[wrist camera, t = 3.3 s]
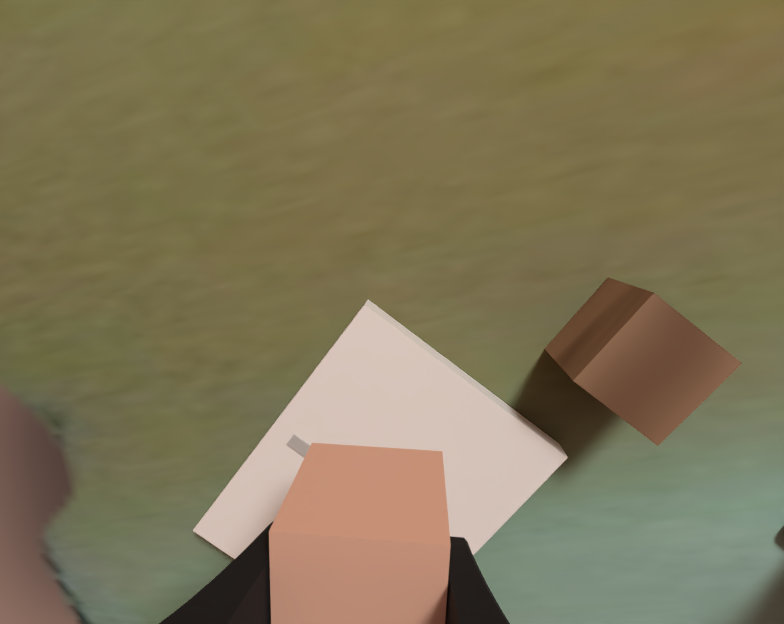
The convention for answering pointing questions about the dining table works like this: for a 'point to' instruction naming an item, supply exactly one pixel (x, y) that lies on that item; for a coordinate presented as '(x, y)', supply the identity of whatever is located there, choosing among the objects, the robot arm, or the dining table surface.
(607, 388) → the walnut block
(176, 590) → the dining table surface
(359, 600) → the terracotta block
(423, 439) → the baseplate
